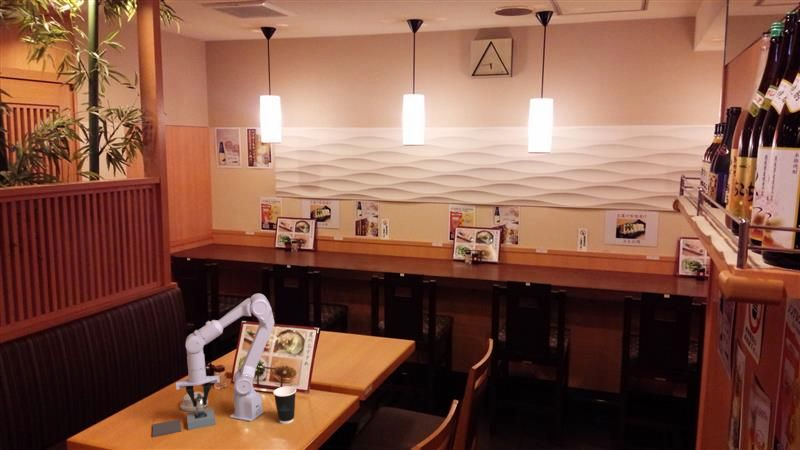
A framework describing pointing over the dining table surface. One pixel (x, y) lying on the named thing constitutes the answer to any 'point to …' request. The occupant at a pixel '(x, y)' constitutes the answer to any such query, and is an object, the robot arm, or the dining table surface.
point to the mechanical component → (190, 402)
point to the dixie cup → (285, 403)
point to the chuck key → (199, 405)
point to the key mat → (166, 427)
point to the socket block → (200, 419)
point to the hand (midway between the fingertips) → (199, 404)
